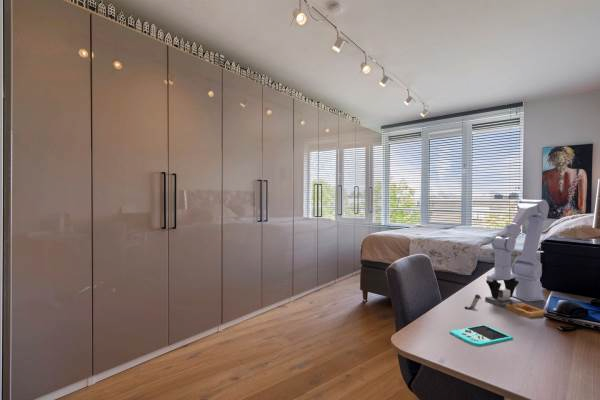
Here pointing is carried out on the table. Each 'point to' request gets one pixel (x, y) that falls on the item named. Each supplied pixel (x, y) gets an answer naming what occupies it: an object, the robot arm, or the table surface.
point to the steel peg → (503, 295)
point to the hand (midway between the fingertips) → (501, 297)
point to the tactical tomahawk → (473, 303)
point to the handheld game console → (481, 335)
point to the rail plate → (517, 307)
